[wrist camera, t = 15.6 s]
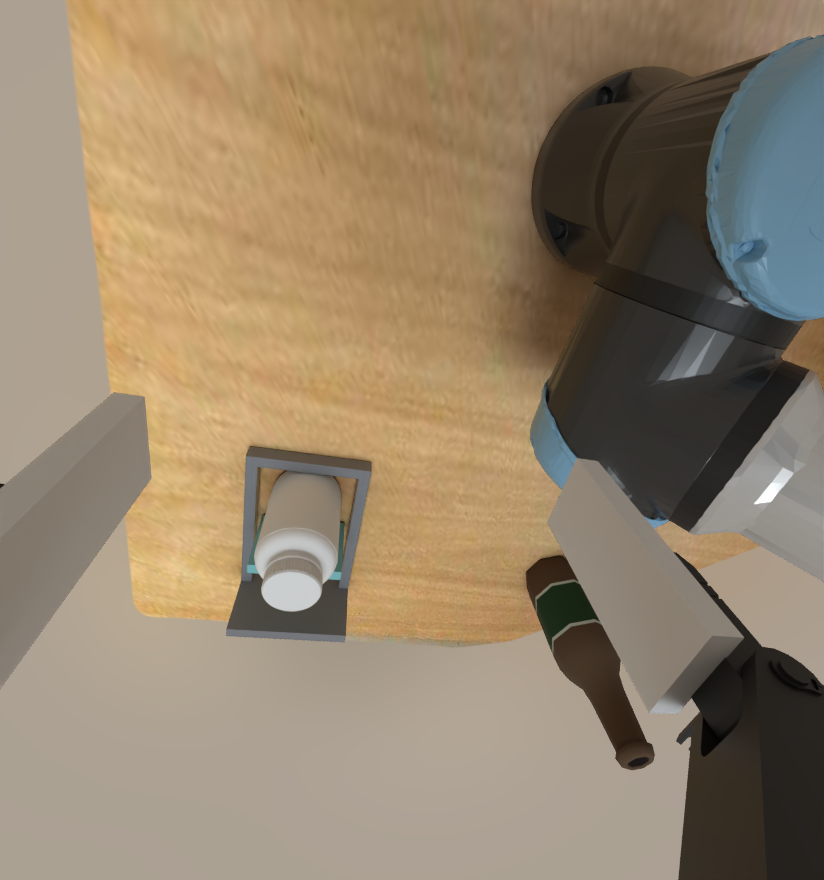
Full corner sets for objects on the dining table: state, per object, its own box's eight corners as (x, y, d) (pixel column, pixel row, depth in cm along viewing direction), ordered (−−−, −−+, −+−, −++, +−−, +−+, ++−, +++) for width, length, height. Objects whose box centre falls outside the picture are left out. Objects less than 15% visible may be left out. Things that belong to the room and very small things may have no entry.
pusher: (344, 523, 55) (341, 572, 48) (343, 530, 56) (340, 580, 49) (262, 514, 53) (247, 564, 46) (261, 522, 54) (246, 572, 47)
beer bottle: (514, 570, 63) (588, 762, 42) (564, 545, 61) (667, 732, 40) (536, 600, 66) (614, 790, 46) (584, 577, 65) (687, 764, 44)
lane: (371, 461, 51) (372, 511, 44) (346, 583, 61) (344, 642, 53) (250, 446, 49) (228, 496, 41) (244, 575, 58) (226, 636, 51)
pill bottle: (351, 507, 54) (347, 609, 42) (289, 524, 55) (266, 630, 42) (328, 455, 50) (316, 550, 38) (261, 474, 51) (226, 574, 38)
